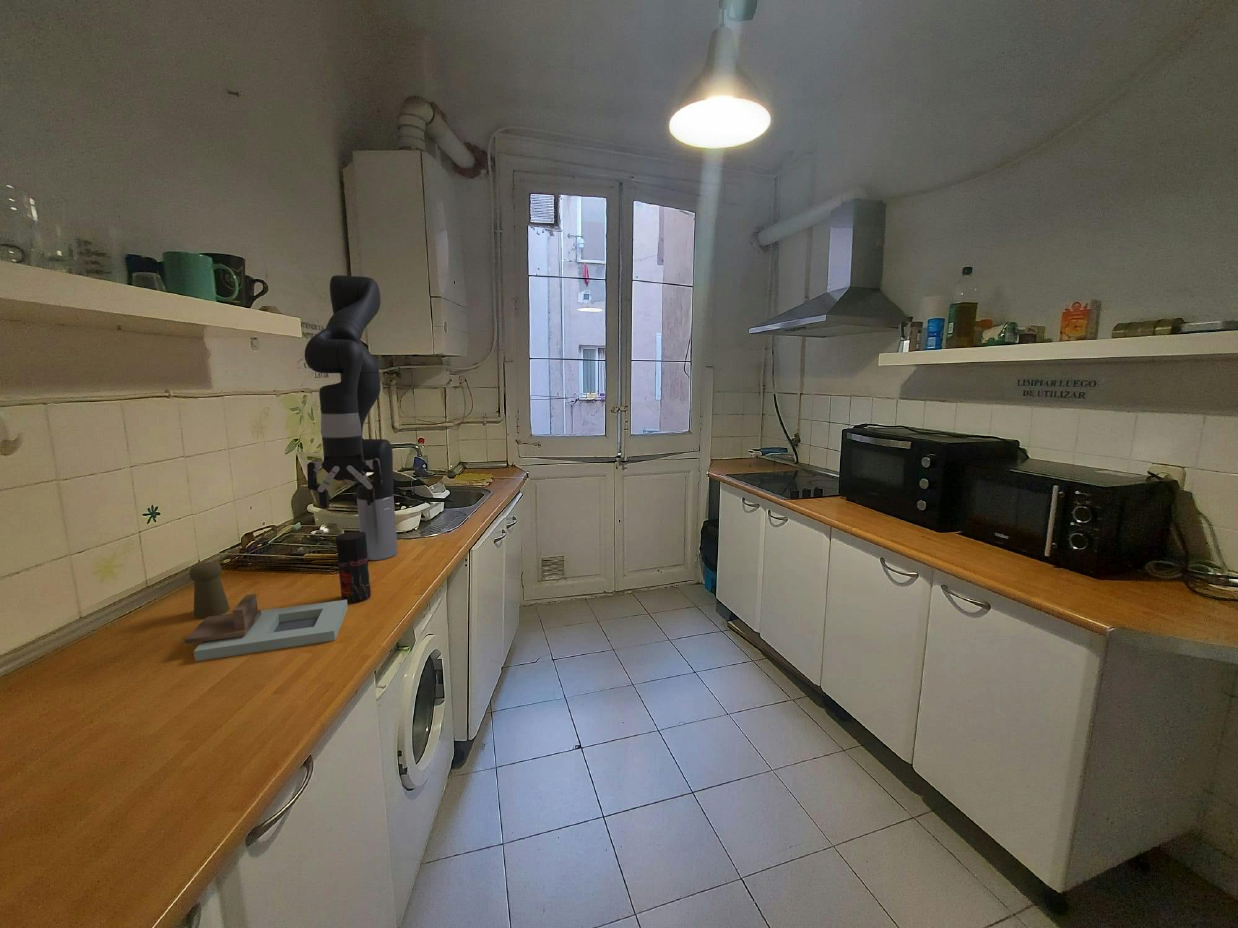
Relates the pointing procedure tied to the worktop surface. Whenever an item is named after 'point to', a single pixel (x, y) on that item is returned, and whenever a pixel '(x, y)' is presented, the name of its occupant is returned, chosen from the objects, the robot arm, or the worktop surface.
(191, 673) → the worktop surface
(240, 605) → the cover
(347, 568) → the deodorant
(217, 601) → the cork
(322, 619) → the socket board
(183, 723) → the worktop surface
